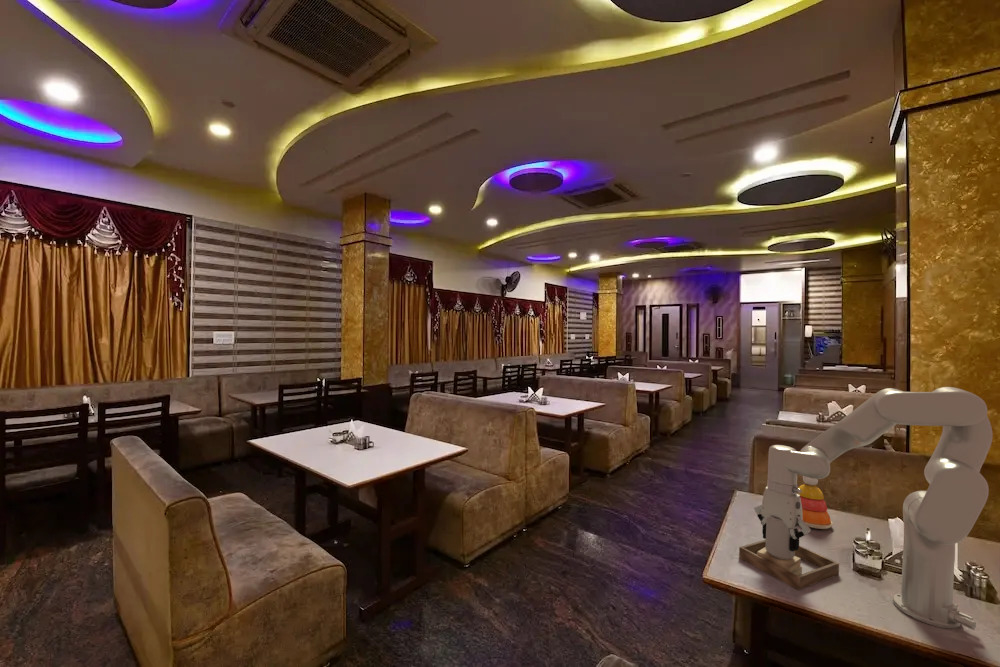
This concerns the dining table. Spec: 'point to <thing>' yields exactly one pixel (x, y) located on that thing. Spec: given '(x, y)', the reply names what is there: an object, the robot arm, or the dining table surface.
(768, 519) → the can
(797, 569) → the offcut stack
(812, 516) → the stacking toy
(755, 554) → the wooden frame
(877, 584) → the dining table surface
